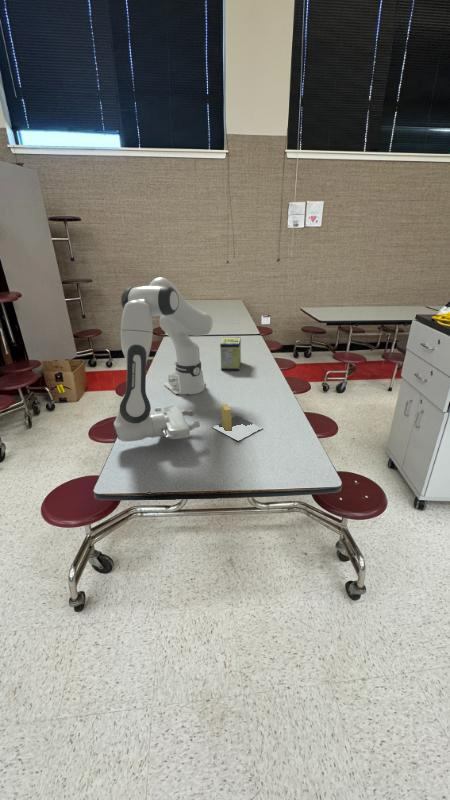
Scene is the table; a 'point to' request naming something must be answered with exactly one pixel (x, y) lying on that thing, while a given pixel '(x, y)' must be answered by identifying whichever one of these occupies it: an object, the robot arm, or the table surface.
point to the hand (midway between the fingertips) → (196, 418)
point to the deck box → (226, 417)
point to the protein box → (230, 353)
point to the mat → (238, 421)
